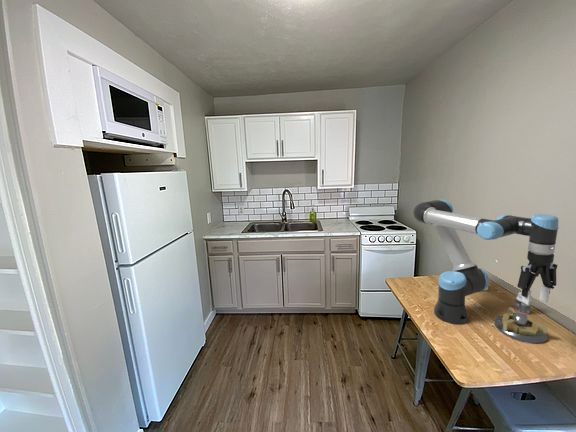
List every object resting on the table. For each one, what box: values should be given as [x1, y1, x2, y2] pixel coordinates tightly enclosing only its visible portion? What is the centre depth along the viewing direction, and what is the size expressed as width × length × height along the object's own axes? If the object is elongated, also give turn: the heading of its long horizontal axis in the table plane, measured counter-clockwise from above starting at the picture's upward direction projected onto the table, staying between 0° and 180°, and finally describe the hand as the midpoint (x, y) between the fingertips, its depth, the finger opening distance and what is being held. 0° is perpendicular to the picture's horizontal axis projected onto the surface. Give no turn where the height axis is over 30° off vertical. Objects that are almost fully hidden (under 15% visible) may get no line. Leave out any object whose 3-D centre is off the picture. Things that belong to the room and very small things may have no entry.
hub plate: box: [493, 315, 548, 345], centre depth 114 cm, size 18×18×2 cm
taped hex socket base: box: [502, 307, 549, 336], centre depth 112 cm, size 15×16×4 cm
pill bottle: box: [514, 291, 532, 315], centre depth 126 cm, size 6×6×10 cm
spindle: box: [513, 312, 529, 327], centre depth 113 cm, size 5×5×8 cm
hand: (534, 301), depth 104 cm, fingers open, 8 cm apart
